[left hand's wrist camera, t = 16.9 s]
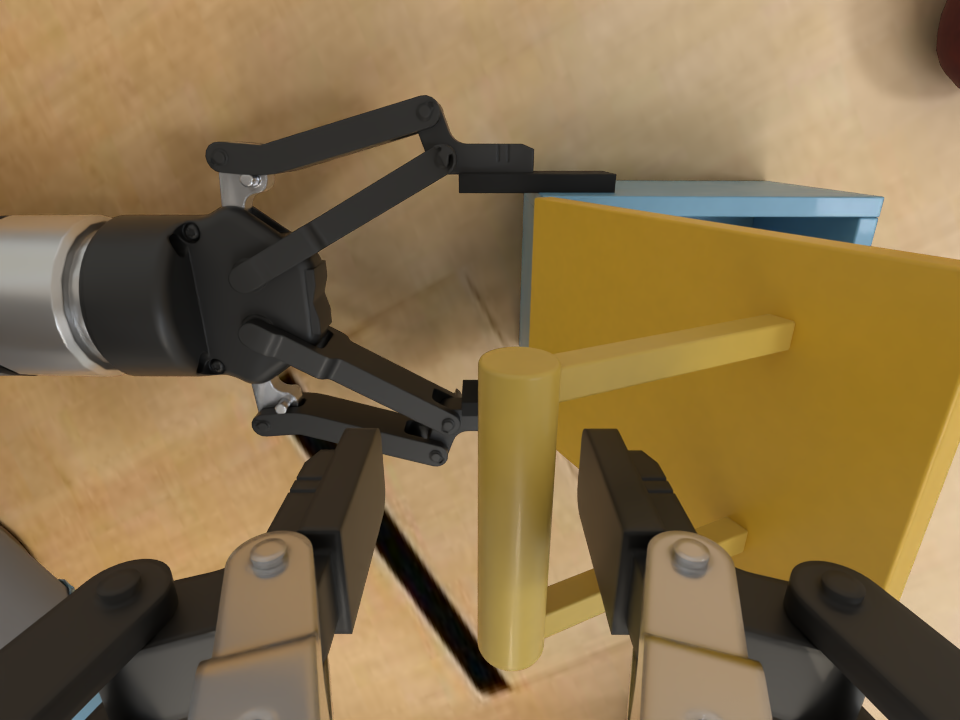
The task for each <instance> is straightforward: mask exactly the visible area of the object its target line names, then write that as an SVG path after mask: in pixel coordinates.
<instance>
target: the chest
mask: <svg viewBox="0 0 960 720" xmlns="http://www.w3.org/2000/svg"><path fill="white" fill-rule="evenodd" d="M537 197H556V198H563V199H569V200H576V201H582V202H589V203H595V204H602V205H608V206H615V207H621V208H627V209H634V210H640V211H647V212H653V213H660V214H666V215H673V216H679V217H686V218H692V219H698V220H705V221H711V222H718V223H724V224H731V225H737V226H744V227H750V228H757V229H763V230H769V231H776V232H782V233H789V234H795V235H802V236H808V237H815V238H821V239H828V240H834V241H840V242H847V243H853V244H860V245H866V246H871V244H872V240H873V236H874V233H875V229H876V225H877V222H878V218H876V217H879V216H880V212H881V208H882V204H883V201H884V197H881V196H874V195H866V194H859V193H852V192H844V191H837V190H829V189H822V188H815V187H807V186H800V185H793V184H785V183H778V182H770V181H616V184H615V193H524V205H523V236H522V268H521V300H520V331H519V347H529V329H530V303H531V277H532V251H533V225H534V200H535V198H537Z"/></svg>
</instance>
